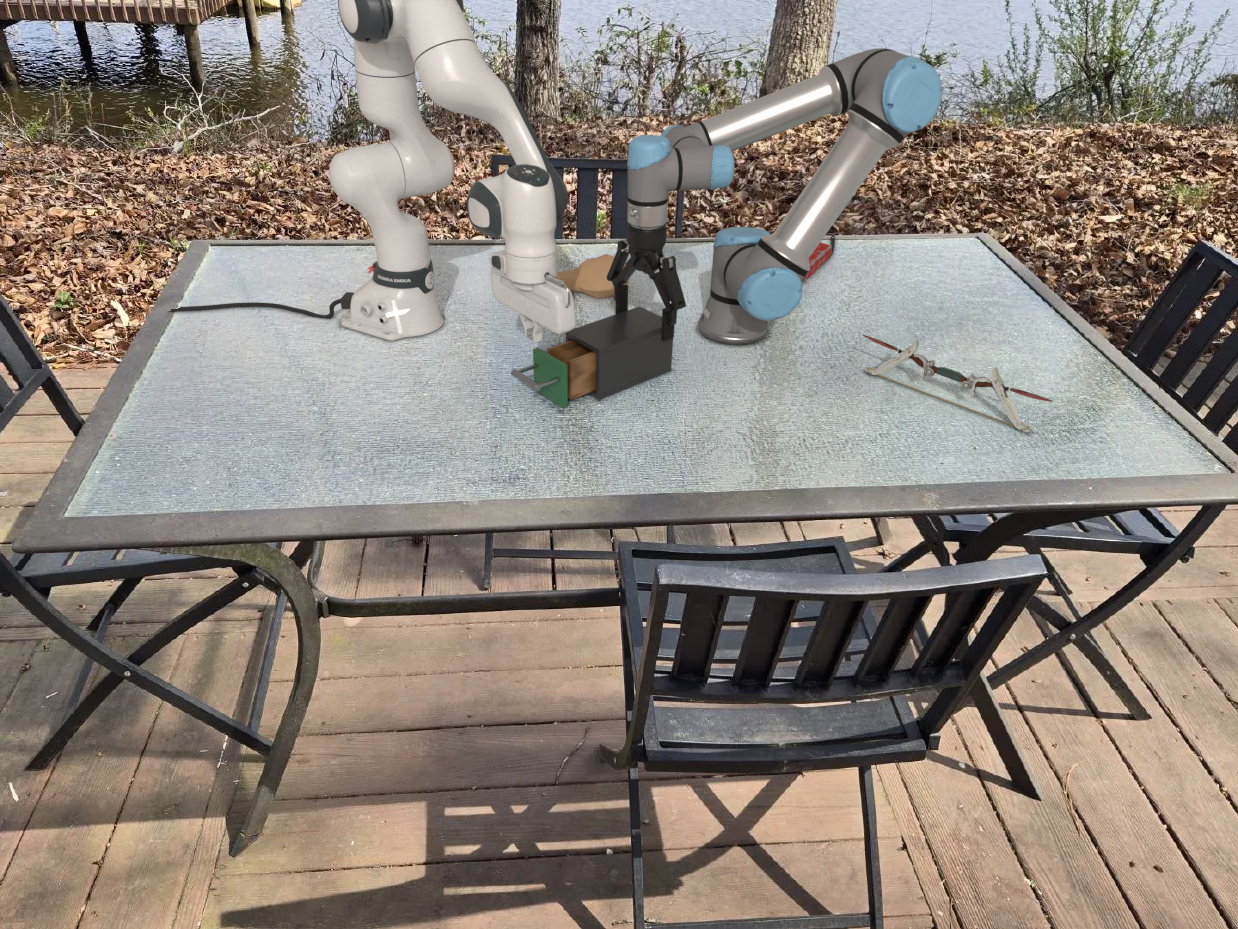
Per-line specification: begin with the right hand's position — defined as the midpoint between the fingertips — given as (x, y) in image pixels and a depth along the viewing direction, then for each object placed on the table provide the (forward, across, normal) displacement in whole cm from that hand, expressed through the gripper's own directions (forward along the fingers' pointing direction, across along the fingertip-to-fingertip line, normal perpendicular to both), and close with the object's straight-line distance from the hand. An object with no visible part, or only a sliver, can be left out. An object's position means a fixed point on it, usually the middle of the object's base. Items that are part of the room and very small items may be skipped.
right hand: (644, 327), depth 176 cm
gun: (+10, -18, +64) cm, 67 cm away
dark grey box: (+9, 0, -6) cm, 11 cm away
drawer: (+8, 0, -18) cm, 20 cm away
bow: (+10, +48, +36) cm, 61 cm away
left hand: (-6, 0, -27) cm, 28 cm away
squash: (+9, -37, +16) cm, 41 cm away
